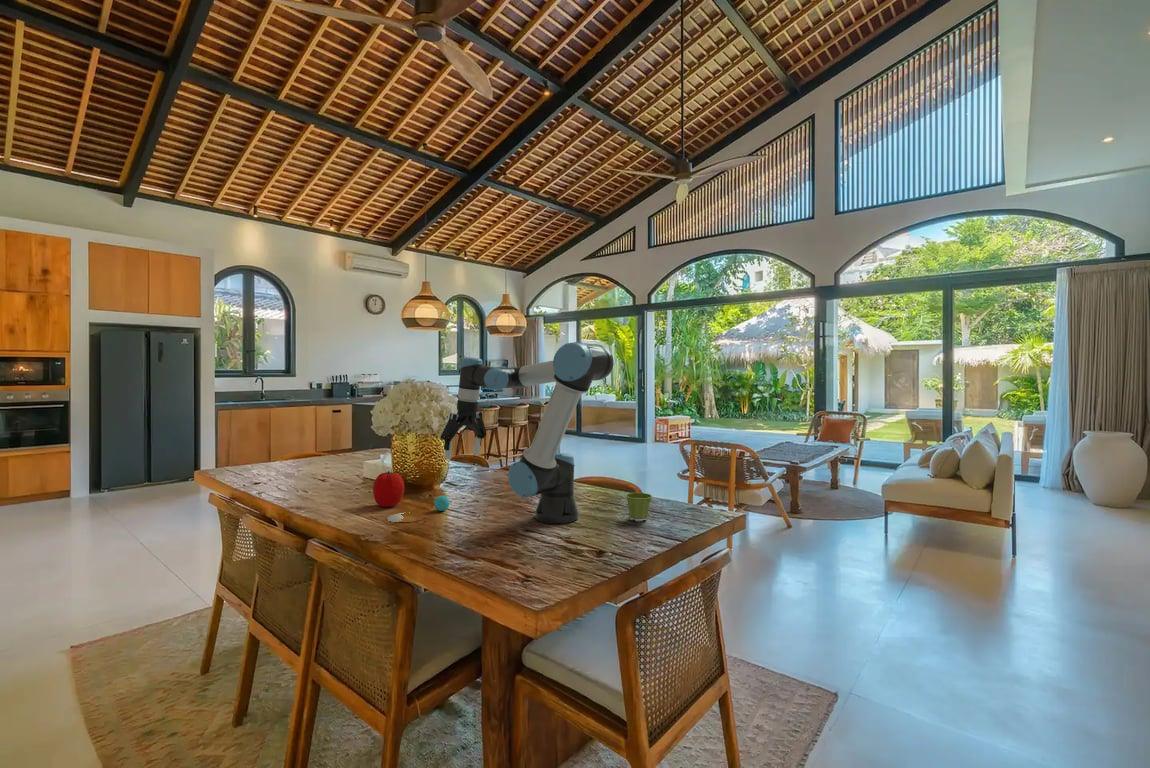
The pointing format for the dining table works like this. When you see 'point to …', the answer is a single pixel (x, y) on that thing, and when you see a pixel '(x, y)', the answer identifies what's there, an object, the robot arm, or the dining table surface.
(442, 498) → the ball
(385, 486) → the tomato
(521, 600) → the dining table surface
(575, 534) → the dining table surface
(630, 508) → the plant pot
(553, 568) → the dining table surface
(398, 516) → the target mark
